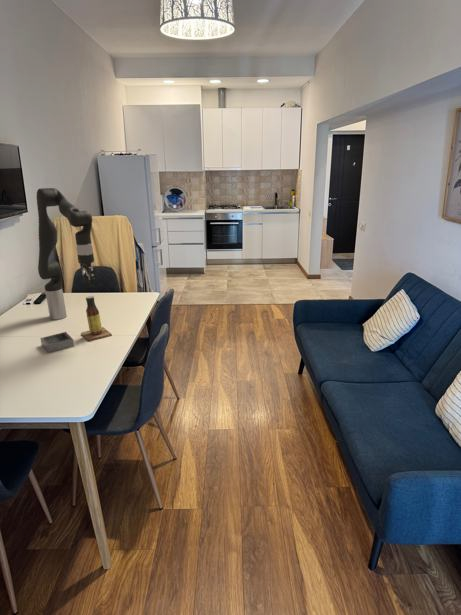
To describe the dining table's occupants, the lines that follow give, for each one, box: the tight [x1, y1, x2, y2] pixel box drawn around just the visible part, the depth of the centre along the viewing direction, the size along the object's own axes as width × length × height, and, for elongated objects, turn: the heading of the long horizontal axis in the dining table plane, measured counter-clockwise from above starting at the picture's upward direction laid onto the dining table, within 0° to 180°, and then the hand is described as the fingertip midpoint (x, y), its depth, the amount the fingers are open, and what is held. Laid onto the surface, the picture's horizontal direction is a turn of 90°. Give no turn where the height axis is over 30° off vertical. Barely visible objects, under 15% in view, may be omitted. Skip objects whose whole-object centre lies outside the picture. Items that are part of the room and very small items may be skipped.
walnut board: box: [80, 326, 113, 342], centre depth 217 cm, size 12×12×1 cm
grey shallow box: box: [40, 331, 75, 354], centre depth 204 cm, size 11×12×4 cm
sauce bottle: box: [85, 295, 103, 335], centre depth 213 cm, size 6×6×20 cm
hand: (89, 284), depth 207 cm, fingers open, 8 cm apart
